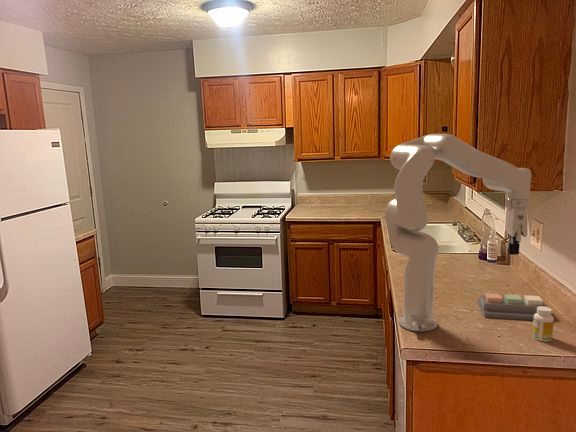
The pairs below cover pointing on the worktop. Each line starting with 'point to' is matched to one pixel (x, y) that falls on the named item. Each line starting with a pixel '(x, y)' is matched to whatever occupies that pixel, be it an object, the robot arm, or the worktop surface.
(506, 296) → the sage key
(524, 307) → the console
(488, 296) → the terracotta key
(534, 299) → the cream key
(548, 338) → the supplement bottle
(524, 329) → the worktop surface
